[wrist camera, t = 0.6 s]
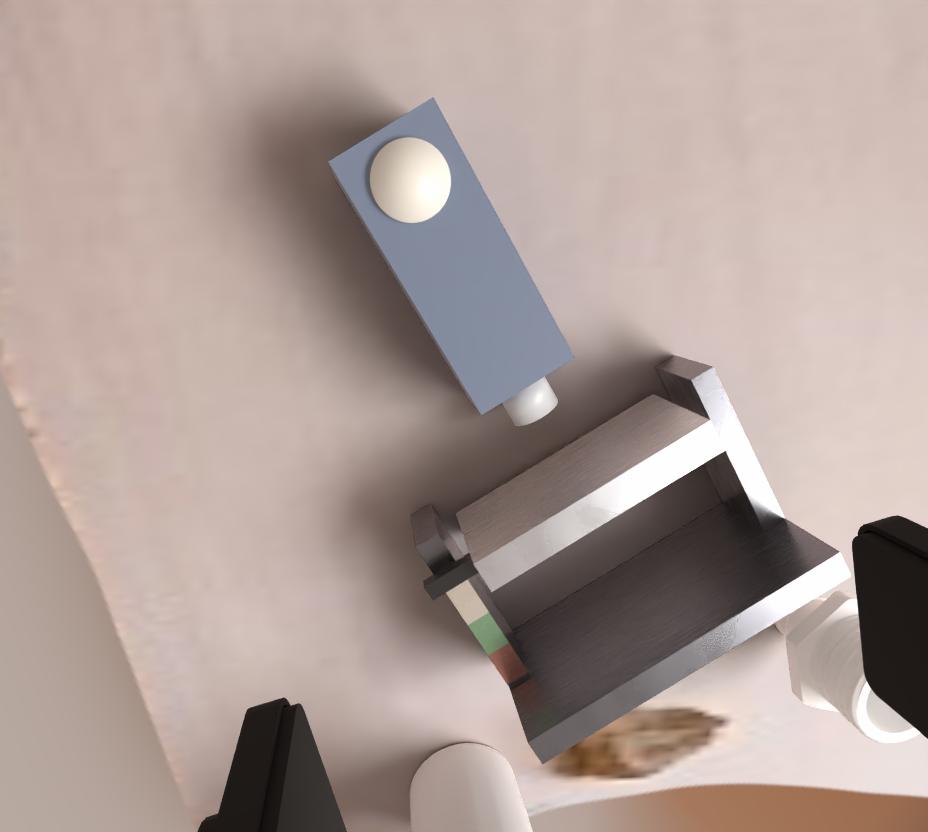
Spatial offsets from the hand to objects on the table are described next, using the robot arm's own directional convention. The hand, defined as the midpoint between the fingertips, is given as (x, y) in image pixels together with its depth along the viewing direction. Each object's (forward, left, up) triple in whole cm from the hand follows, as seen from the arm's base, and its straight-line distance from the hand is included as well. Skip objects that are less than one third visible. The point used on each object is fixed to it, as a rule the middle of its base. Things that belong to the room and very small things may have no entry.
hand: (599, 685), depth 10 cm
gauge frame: (-3, +10, -23) cm, 26 cm away
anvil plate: (-2, +6, -23) cm, 24 cm away
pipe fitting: (-12, +22, -24) cm, 35 cm away
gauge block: (-4, -6, -24) cm, 25 cm away
